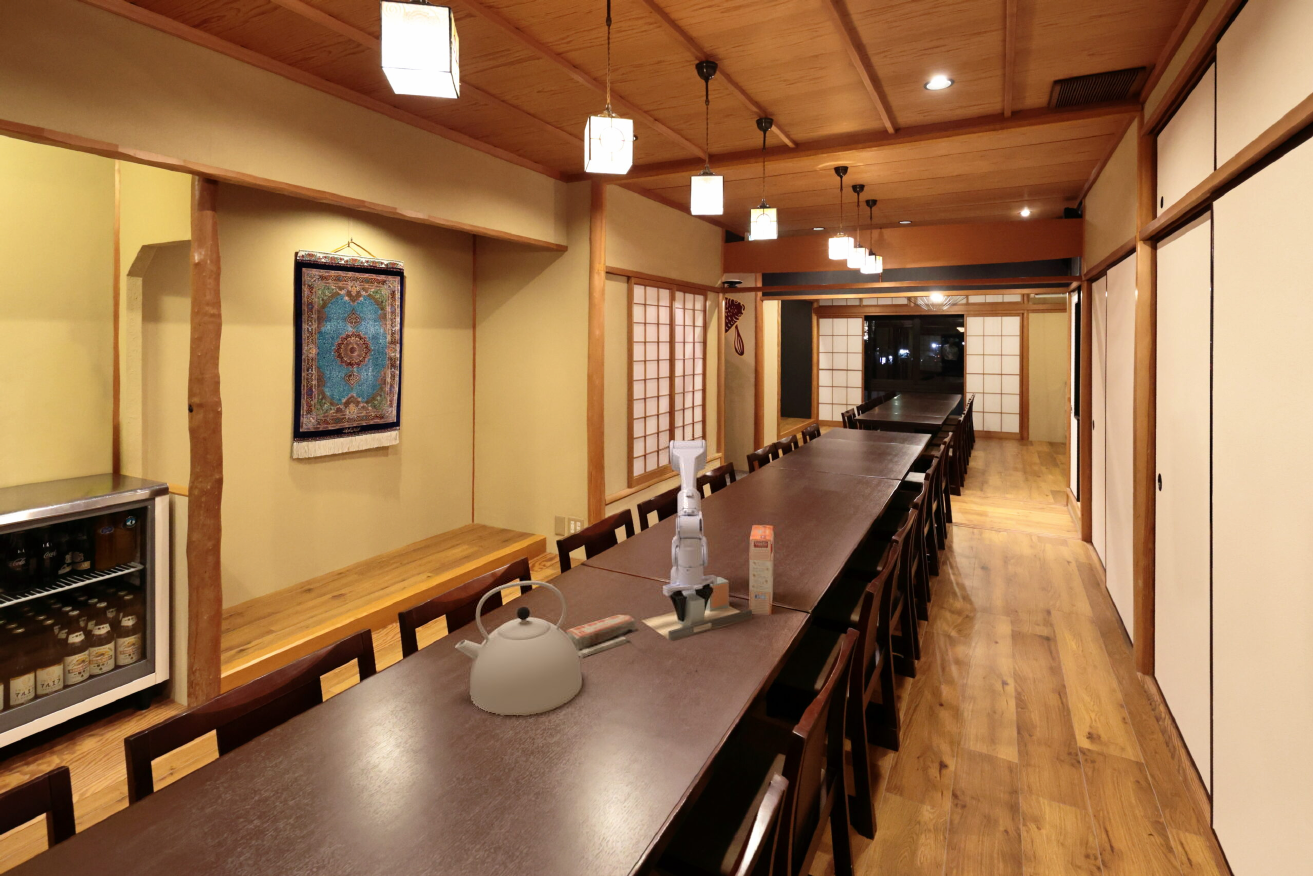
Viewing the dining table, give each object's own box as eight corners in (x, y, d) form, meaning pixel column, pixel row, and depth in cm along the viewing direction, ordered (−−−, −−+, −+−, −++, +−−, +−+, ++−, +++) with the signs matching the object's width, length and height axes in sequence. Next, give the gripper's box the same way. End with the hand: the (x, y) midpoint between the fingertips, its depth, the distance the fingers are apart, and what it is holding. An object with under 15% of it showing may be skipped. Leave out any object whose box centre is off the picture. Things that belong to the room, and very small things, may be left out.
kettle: (457, 726, 125) (449, 610, 122) (459, 671, 146) (452, 571, 143) (590, 705, 131) (586, 594, 128) (573, 655, 153) (569, 559, 150)
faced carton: (701, 606, 176) (700, 581, 175) (719, 602, 179) (719, 576, 178) (710, 612, 172) (710, 585, 172) (729, 607, 176) (729, 581, 175)
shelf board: (641, 625, 168) (640, 612, 168) (719, 604, 180) (719, 593, 180) (670, 645, 156) (670, 632, 156) (752, 622, 168) (752, 610, 168)
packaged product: (580, 640, 150) (558, 626, 158) (581, 660, 151) (559, 646, 159) (645, 618, 161) (621, 607, 169) (645, 638, 162) (621, 625, 170)
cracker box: (772, 619, 170) (772, 539, 167) (748, 618, 171) (748, 538, 169) (774, 599, 184) (774, 524, 181) (751, 597, 185) (751, 523, 182)
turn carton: (691, 630, 161) (690, 602, 161) (677, 622, 167) (677, 595, 166) (705, 626, 164) (705, 599, 163) (691, 618, 169) (691, 591, 168)
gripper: (673, 574, 156) (674, 629, 158) (724, 562, 163) (724, 616, 165) (658, 566, 162) (659, 619, 164) (707, 555, 169) (708, 607, 171)
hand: (690, 617), depth 165 cm, fingers open, 5 cm apart
